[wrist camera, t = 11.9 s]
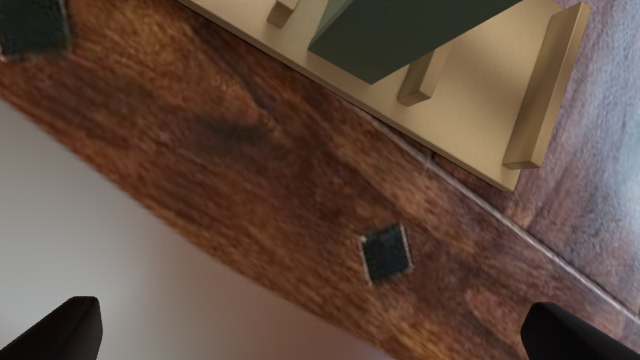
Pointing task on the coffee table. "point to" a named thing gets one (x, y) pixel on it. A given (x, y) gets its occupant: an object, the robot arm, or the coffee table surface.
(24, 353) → the robot arm
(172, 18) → the coffee table surface
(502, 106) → the rack
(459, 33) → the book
